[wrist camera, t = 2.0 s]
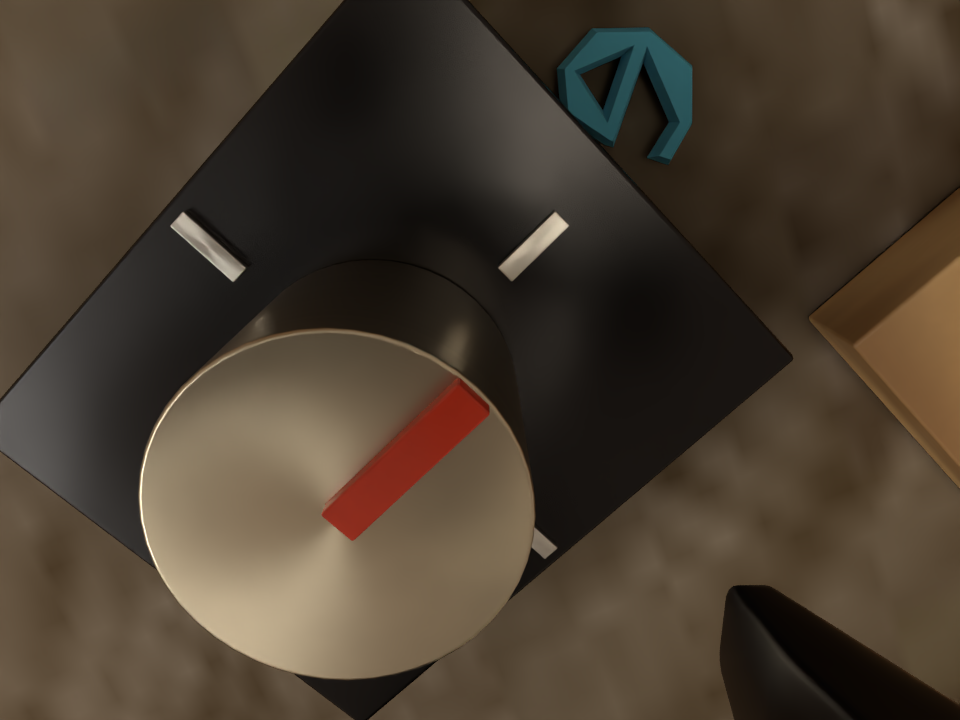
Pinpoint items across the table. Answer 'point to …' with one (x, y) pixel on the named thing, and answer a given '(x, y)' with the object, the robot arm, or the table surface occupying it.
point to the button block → (909, 331)
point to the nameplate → (628, 84)
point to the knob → (345, 477)
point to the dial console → (419, 242)
